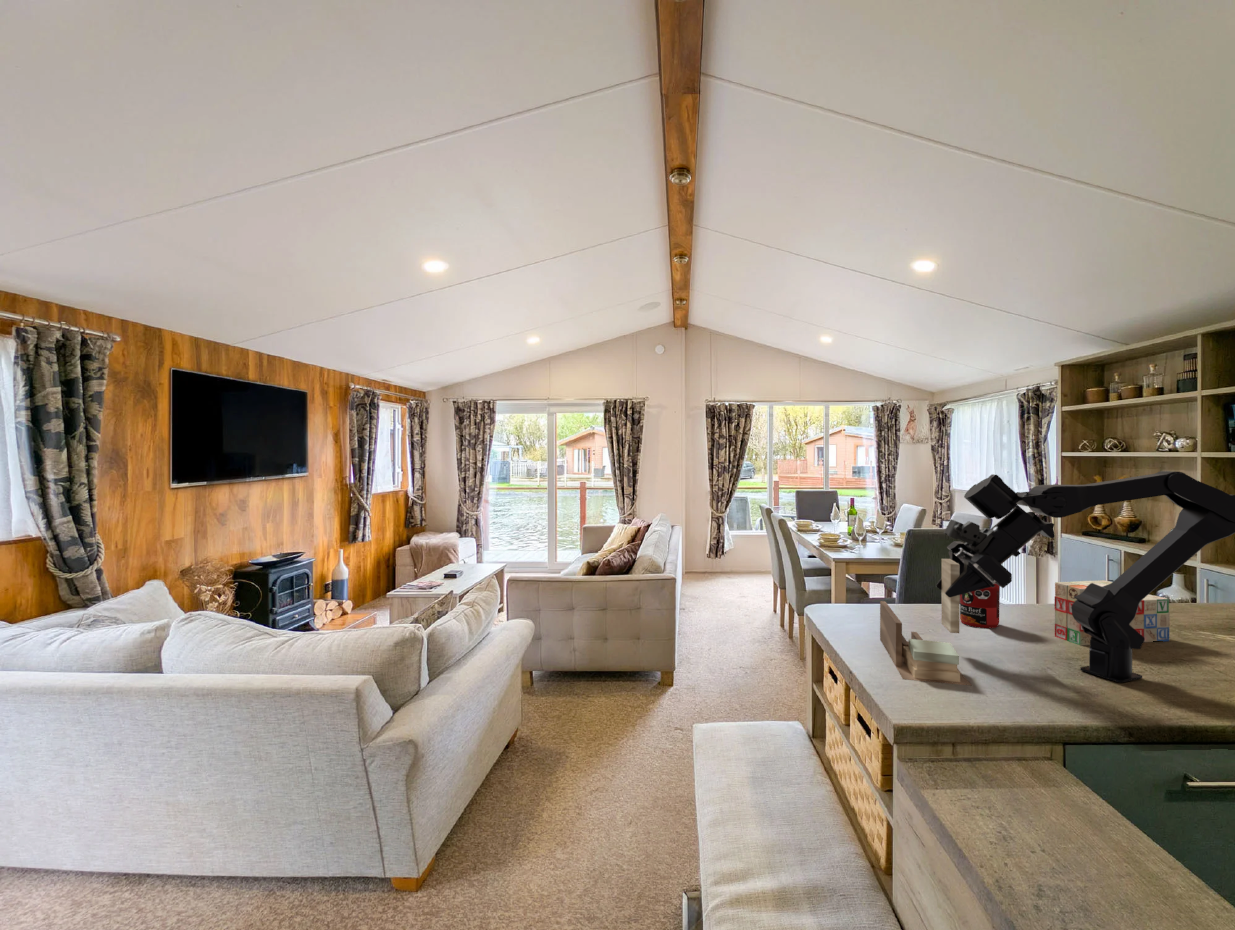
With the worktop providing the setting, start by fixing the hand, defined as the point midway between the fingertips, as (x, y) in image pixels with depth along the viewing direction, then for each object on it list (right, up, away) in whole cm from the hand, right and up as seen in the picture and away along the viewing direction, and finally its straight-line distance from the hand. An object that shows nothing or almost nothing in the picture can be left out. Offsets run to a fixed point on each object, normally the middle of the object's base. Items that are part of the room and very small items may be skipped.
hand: (942, 591), depth 111 cm
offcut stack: (-7, -12, -9) cm, 17 cm away
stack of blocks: (+44, -14, +13) cm, 48 cm away
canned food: (+23, -13, +24) cm, 36 cm away
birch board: (+1, -7, 0) cm, 7 cm away
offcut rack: (-6, -14, -3) cm, 15 cm away
